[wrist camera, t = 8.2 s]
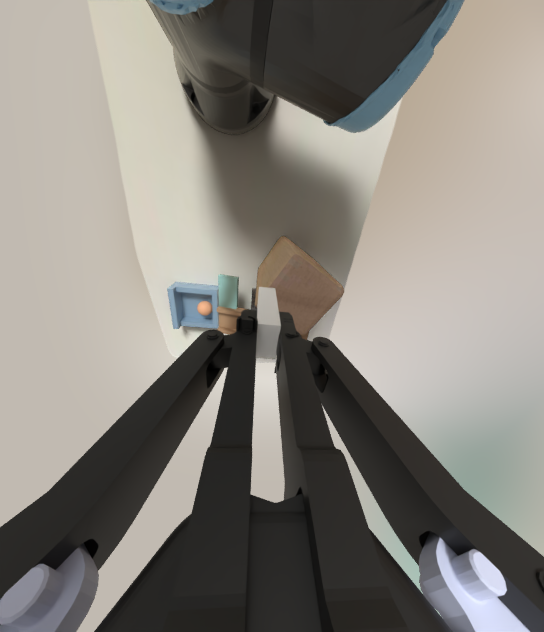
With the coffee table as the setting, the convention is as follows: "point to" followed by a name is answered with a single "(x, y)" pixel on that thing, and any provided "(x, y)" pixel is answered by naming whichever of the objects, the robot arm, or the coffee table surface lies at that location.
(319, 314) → the wooden block
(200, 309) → the ball
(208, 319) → the blue square tray
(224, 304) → the lever
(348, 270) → the coffee table surface
